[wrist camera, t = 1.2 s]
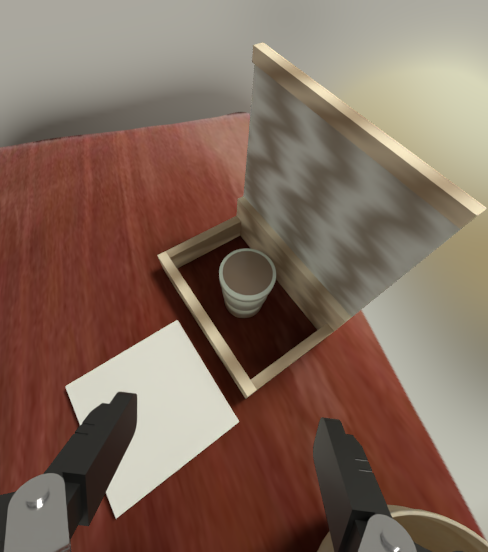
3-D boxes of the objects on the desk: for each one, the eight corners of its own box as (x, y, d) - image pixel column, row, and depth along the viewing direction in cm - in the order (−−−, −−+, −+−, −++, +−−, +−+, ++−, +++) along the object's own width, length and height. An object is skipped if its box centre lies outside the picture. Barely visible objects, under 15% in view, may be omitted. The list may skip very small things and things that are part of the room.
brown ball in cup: (211, 293, 38) (208, 264, 31) (249, 271, 40) (254, 239, 33) (237, 331, 36) (240, 309, 29) (276, 305, 38) (287, 279, 31)
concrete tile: (70, 387, 31) (65, 386, 30) (178, 322, 36) (177, 319, 35) (120, 514, 27) (115, 518, 25) (238, 421, 31) (239, 421, 30)
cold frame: (162, 268, 39) (88, 89, 18) (244, 225, 44) (263, 42, 23) (245, 398, 32) (286, 357, 11) (333, 331, 37) (487, 208, 15)
